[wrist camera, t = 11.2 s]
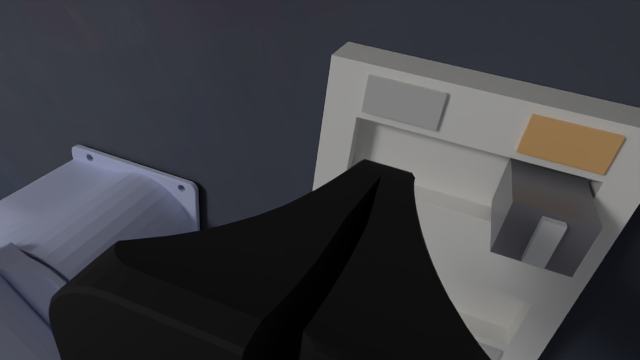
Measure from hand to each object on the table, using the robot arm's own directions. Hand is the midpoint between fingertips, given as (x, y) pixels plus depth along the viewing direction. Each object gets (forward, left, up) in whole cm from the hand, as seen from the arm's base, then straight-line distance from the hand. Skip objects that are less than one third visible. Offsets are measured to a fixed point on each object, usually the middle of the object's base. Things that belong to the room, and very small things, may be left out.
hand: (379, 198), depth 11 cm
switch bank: (+2, -7, -10) cm, 13 cm away
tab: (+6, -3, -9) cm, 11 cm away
